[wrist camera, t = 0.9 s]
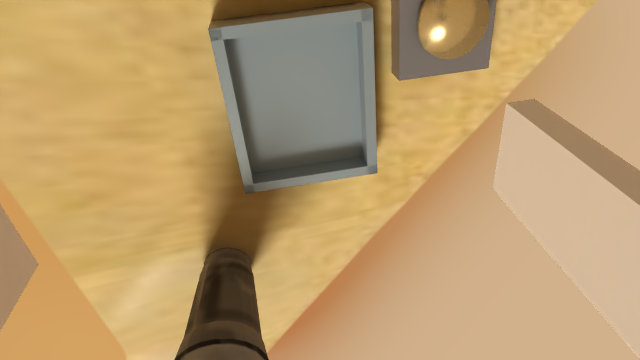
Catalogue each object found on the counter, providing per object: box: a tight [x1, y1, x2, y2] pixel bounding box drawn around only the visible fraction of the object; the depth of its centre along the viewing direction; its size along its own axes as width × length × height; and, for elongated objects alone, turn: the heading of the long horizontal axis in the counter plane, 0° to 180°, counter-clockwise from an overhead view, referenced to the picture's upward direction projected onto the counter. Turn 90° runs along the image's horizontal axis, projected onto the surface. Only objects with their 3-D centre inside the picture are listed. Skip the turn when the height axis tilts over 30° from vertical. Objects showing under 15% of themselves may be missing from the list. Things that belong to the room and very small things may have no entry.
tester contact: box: [416, 0, 490, 59], centre depth 29 cm, size 5×5×1 cm
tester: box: [391, 0, 496, 81], centre depth 31 cm, size 8×7×3 cm
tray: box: [208, 2, 377, 194], centre depth 33 cm, size 13×11×2 cm
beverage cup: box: [175, 248, 269, 360], centre depth 33 cm, size 7×7×20 cm
